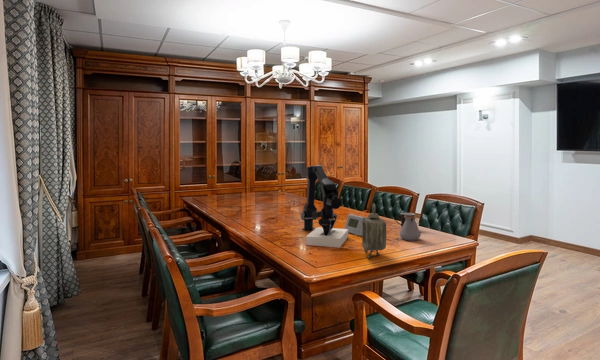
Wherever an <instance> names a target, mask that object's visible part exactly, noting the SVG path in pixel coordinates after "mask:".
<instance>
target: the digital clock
mask: <svg viewBox="0 0 600 360" xmlns="http://www.w3.org/2000/svg"><path fill="white" fill-rule="evenodd" d="M363 217H364V216H361V215H356V214H352V213H350V214H348V215H347V219H346V221H345V225H344V228H343V229H348V234H351V235H354V236H360V237H362V222H363Z"/></svg>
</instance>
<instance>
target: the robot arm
mask: <svg viewBox="0 0 600 360" xmlns="http://www.w3.org/2000/svg"><path fill="white" fill-rule="evenodd" d="M304 175H305V178H306V179H307V188H306V190H307V191H306V203H305V205H303V210H302V212H301V214H300V219H301V221H303V227H302V228H301V230H302V231H313V230H315V229H316V227H314V221H315V220H317V219H318V225H319V226H321V227H323V231H324V235H325V236H327V235H328V232H329V229H330V228H332V229H333V228H334V226H335V223H336V221H337V219H338V215H337V214H336V213H334V210H338V209H339V208H341V206H342V201H341V199H340V198H338V197H339V191H338V188H337V186H336V184H335V183H334V181H333V180H331V179H329V178H328V175H327V174H326V172H325V170H324V168H323V165H321V164H320V165H319V164H316V165H315V164H314V165H312V166H306V167H305V168H304ZM317 181H319V183H320V192H321V194H322V195H321V197H322V208H321V210H319V211H318V209H317V206H316V205H315V201H316V200H315V197H316V186H317V185H316V183H317Z"/></svg>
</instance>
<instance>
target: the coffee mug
mask: <svg viewBox="0 0 600 360" xmlns="http://www.w3.org/2000/svg"><path fill="white" fill-rule="evenodd" d="M404 216H416V214H415V213H414V212H413V213H412V212H401V213H400V215H395V216H394V218H393V220H394V222H396V223H397V224H399V225H400V226H401V228H402V227H403V224H404V222H405V220H406V219H405V218H404ZM397 217H398V218H399V219H400V222H398V221H397V220H396V218H397Z"/></svg>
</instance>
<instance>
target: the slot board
mask: <svg viewBox="0 0 600 360" xmlns="http://www.w3.org/2000/svg"><path fill="white" fill-rule="evenodd" d="M323 233H324V231H323V227H322V226H321V227H320V226H319V227H315V229H313V230H311V231H310V233H308V234H307V235H306V236H305V245H306V246H315V247H316V246H317V247H328V248H339V249H340V248H341V247H342V245H343V244H344V243H345V241H346V240H347V239H348V238H349V233H348V229H344V228H334V227H333V229H332V235H331V236H325V235H323Z"/></svg>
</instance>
